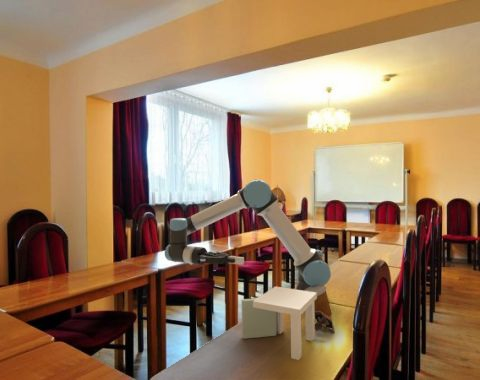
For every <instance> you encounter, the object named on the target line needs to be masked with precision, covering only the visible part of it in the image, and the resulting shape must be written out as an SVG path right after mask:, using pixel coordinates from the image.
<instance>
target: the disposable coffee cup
mask: <svg viewBox="0 0 480 380" xmlns="http://www.w3.org/2000/svg"><path fill="white" fill-rule="evenodd" d="M304 291H309V292H316V293H317V299H316V300H315V301H314V311H316V310H320V311H321V312H323V313H324V314H326V315H327V316H329V318H331V317H332V315H333V312H332V309H331V305H330V301H329V297H328V293H327V287H326V286H325V285H323V284H319V286H315V287H312V286H311V287H309V288H307V289H305V290H304Z"/></svg>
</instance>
